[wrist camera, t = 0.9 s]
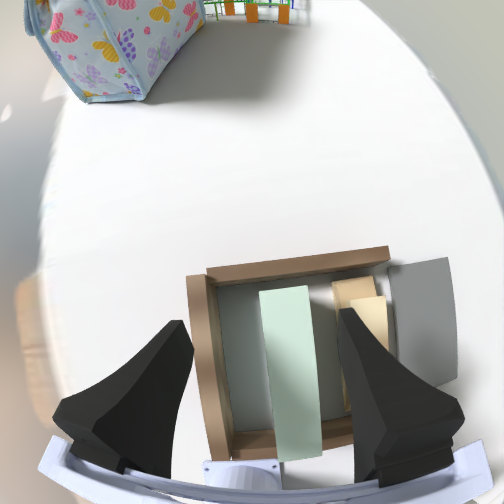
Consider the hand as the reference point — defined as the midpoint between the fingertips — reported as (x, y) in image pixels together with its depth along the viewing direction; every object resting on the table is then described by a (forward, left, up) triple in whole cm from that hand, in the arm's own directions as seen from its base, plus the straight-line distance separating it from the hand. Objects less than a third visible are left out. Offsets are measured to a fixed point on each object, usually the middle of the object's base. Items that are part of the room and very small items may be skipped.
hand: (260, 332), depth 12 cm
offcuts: (-4, -9, -14) cm, 17 cm away
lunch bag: (+41, +14, -13) cm, 45 cm away
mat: (-4, -17, -13) cm, 22 cm away
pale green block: (-4, -2, -13) cm, 14 cm away
